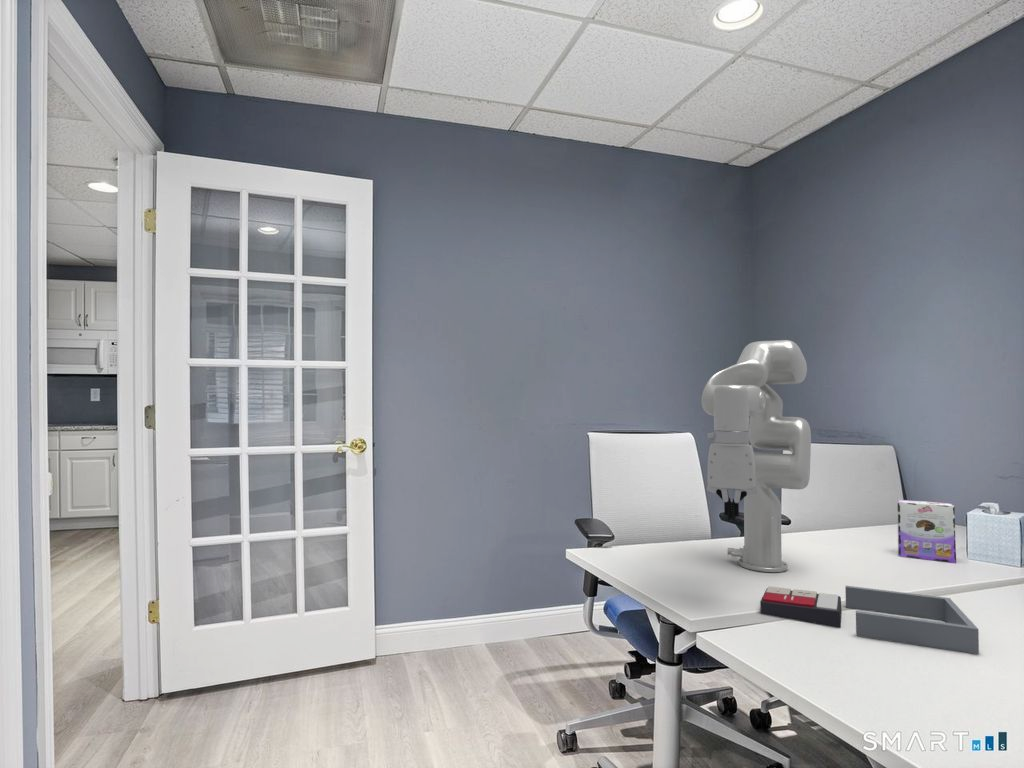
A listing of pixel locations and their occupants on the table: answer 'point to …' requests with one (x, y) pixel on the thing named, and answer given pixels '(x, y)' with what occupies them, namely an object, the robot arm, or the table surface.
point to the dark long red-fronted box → (802, 606)
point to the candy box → (926, 530)
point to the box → (912, 619)
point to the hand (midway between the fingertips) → (731, 519)
